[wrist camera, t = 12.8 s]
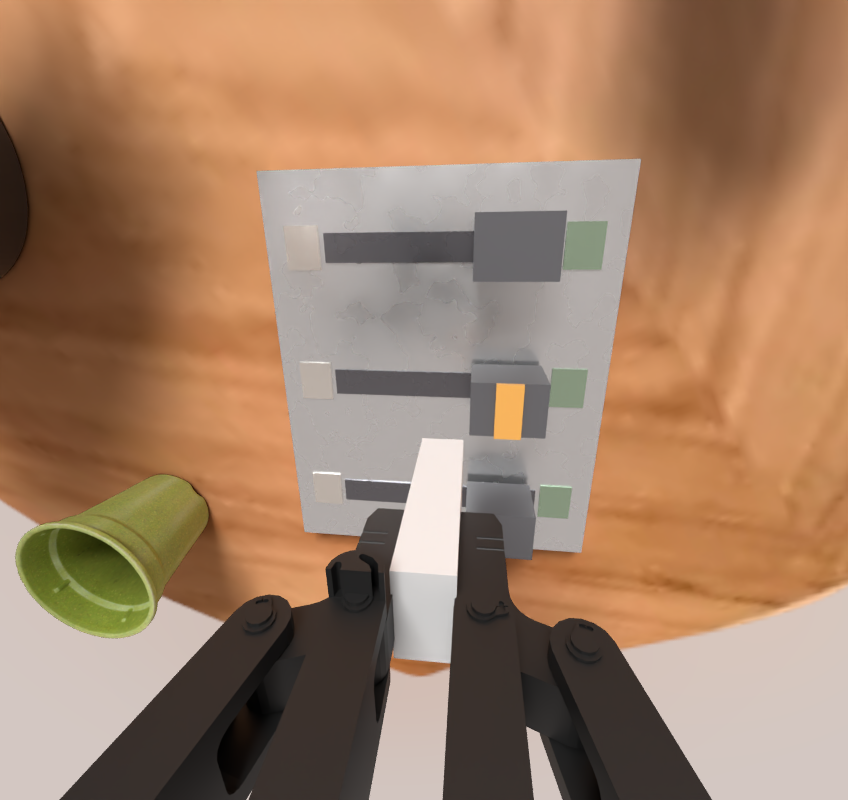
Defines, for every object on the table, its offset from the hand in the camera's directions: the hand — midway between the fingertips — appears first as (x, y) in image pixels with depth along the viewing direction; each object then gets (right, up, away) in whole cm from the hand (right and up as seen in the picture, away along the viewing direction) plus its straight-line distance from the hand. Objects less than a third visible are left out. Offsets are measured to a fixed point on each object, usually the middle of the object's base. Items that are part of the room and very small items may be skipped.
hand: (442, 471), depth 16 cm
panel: (0, +4, +12) cm, 13 cm away
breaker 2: (+4, +3, +10) cm, 11 cm away
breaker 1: (+4, +11, +7) cm, 13 cm away
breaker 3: (+4, -4, +12) cm, 14 cm away
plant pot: (-21, -6, +19) cm, 29 cm away
